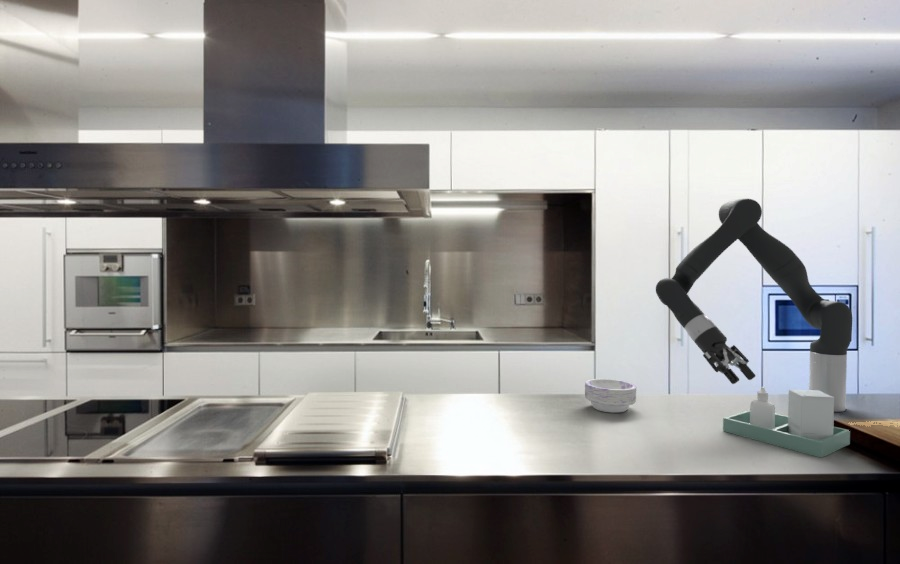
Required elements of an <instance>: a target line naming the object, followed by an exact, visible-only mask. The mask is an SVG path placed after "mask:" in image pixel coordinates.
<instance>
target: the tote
mask: <svg viewBox="0 0 900 564" xmlns="http://www.w3.org/2000/svg"><path fill="white" fill-rule="evenodd" d="M749 423H750V409H748V410H746V411H742V412H739V413H735V414H731V415H729V416H725V417H723V420H722V431H723V432H726V433H730V434H734V435H737V436H739V437H740V436H741V437H743V438H744V437H745V438H747V439H751V440H755V441H757V442H758V441H759V442H762V443H767V444H770V445H772V446H773V445H774V446H777V447H781V448H783V449H788V450H791V451H795V452H799V453H803V454H807V455H810V456H814V457H817V458H824V457H825V456H828V455H830V454H832V453H834V452H837V451H838V450H840V449H843V448H844V447H847V446H849V445H850V444H851V430H850V429H846V428H842V427H837V426H833V435H832V436H830V437H828V438H825V439H823V440H821V441H817V440H813V439H809V438H805V437H801V436H797V435H793V434H789V433H788V415H783V414H779V413H776V412H775V428H774V429H769V428H765V427H761V426H757V425H753V424H749ZM849 430H850V431H849Z"/></svg>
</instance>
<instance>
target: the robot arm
mask: <svg viewBox="0 0 900 564" xmlns="http://www.w3.org/2000/svg"><path fill="white" fill-rule="evenodd" d="M762 210H763V209H762V207H761V205H760V203H759V202H758V201H756V200H754V199H753V198H752V199H751V198H740V199H739V198H738V199H731V200H728V201H726V202H724V203H723V204H722V205H721V206H720V207H719V210H718V218H719V219H718V220H719V221H720V223H721V225H720V226H719V227H718V228H717V229H716V230H715V231H714V232H713V233H711V235H710V236H708V237H707V238H706V239H704V240H702V241H701V242H700V243H699V244H698V245H696V246H695V247H694V248H692V250H690V252H689V253H688V254H686V256H685V257H684V258H683V259H682V260H681V261H680V263H678V265H677V266H676V268H675V272H674V275H673V276H672V277H670V278H669V277H666V278H662V279H660V280H659V281H658V282H657V283H656V286H655V293H656V297H658V299H659V300H660V302H661V303H662V304H663V305H665V306H666V307H668V309H669V310H670V311H671V313H672V314H673V315H674V317H675V319H676V321H678V323H679V324H680V325H681V326H682V328H683V329H684V330H685V332H686V333H687V335H688V336H689V337H690V339H691V340H692V341H693V342H694V343H695V345H696V346H697V347H698V348H699V350H701V351H702V353H703V354H702V357H704V359H705V360H706V361H707V363H708V364H709V365H710V367H711V368H712V369H713V371H715V372H716V373H718V372H720V373H721V374H723V375H724V376H725V377H726V378H727V380H728V381H729V382H730V383H731V384H732V385H735V384H737V383H738V382H739V381H740V378H739V376H738V375H737V374H736V373H735V372H734V371H733V369H731V368H730V366H732V367H733V366H734V367H735V368H737V369H738V370H739V371H740V372H741V373H742V374H743V376H744V377H745V378H746V379H747V380H749V381H751V380H753V379H754V378H755V377H756V374H755V373H754V372H753V371H752V369H751V368H750V367H749V366H748V363H749V362H750V360H749V359H748V358H747V357H746V356H745V354H743V352H742V351H740V350H739V349H738V347H737V346H736V345H735V344H733V345H732V346H728V345H727V344H726V342H727V336H726V335H725V334H724V333H723V331H721V330H720V329H719V328H718V327H717V325H716V324H715V323H714V322H713V320H711V319H710V318H709V317H708V316H707V315H706V314H705V313H704V312H703V310H701V308H700V307H699V306H698V305H697V304H696V303H695V302H694V301H693V300H692V299H691V298H690V296H689V294H688V293H689V292H690V291H691V289H692V287H693V286H694V284H695V283H696V282H697V280H698V279H699V278H700V277H701V276H702V275H703V274H704V273H705V272H706V271H707V270H708V268H710V266H711V265H712V264H713V263H714V262H715V261H716V260H717V259H718V257H720V256H721V255H722V254H723V253H724V252H725V251H726V250H727V249H728V248H730V246H732V245H733V244H734V243H735V242H736V241H739V242H740V243H741V244H742V245H743V246H744V247H745V248H746V249H747V250H748V252H749V253H750V254H751V256H753V257H754V259H755V260H756V261H757V262H758V263H759V265H760V266H761V267H762V268H763V271H765V273H767V275H768V276H770V278H771V279H772V281H774V282H775V284H776V285H777V286H778V287H779V288H780V289H781V290H782V291H783V292H784V293H785V295H786V296H788V298H789V299H790V300H791V301H792V303H793V304H794V306H795V307H796V308H797V310H798V311H799V312H800V314H801V316H802V318H804V321H806V322H807V324H808V325H809V326H811V327H812V328H815V329H816V330H820V334H819V338H818V339H816V340H814V341H812V342H810V345H809V376H808V377H809V379H808V380H809V382H808V387H809V389H808V390H818V391H821V392H823V393H825V394H828V395H830V396H832V397H834V413H835V412H836V413H837V412H841V413H842V412H844V411H846V404H847V403H846V402H847V401H846V398H847V362H848V361H847V358H848V357H847V356H848V348H849V347H850V345H851V342H852V332H853V331H852V330H853V329H852V328H853V312H852V310H851V308H850V307H849V305H848V304H846V303H844V302H841V301H835V300H826V299H824V298H823V297H822V296H821V295H819V294H818V292H817V291H816V290H815V289H814V287H812V285H811V283H810V281H809V277H808V272H807V268H806V266H805V265H804V263H803V261H802V260H801V259H800V258H799V256H797V254H796V253H795V252H794V251H793V250H792V249H791V248H790V247H789V246H787V244H785V243H783V242H782V241H780V240H779V239H778V238H776V237H774V235H771V234H770V233H768V231H766V230H765V229H764V228H763V227H762V226H761V225H760V224H759V222H760V219H761V217H762V214H763V213H762V212H763V211H762Z"/></svg>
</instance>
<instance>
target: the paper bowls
mask: <svg viewBox="0 0 900 564" xmlns="http://www.w3.org/2000/svg"><path fill="white" fill-rule="evenodd" d="M584 383H585V384H584V398H585V399H586V400H587V401H589V402H590V404H591V406H592V407H593V408H594V409H595V410H597V411H600V412H604V413H614V414H619V413H624V412H626V411H627V410H628V409H629V407H630V406H631V405H634V404H636V403H637V386H636V385H635V384H633V383H632V382H629V381H625V380H619V379H611V378H593V379H587V380H586V381H585V382H584Z"/></svg>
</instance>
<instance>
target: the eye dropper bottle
mask: <svg viewBox="0 0 900 564" xmlns="http://www.w3.org/2000/svg"><path fill="white" fill-rule="evenodd" d="M756 398H757V399H753V400H752V401H751V402H750V404H749V408H750V409H749V410H750V424H753V425H757V426H761V427H765V428H769V429H774V428H776V427H775V413H776V407H775V404H773V403H772V402H770V401H769V392H767V391H766V388H765V387H764V386H761V387H760V390H759V391H757V397H756Z"/></svg>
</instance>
